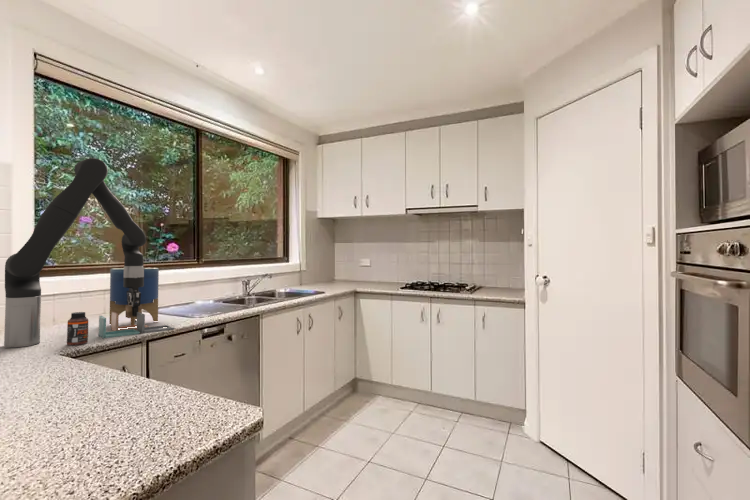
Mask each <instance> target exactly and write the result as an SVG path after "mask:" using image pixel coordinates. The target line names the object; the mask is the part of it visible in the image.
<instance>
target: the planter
mask: <svg viewBox="0 0 750 500" xmlns="http://www.w3.org/2000/svg"><path fill="white" fill-rule="evenodd" d="M143 268H144V286H143V287H139V288H138V289H139V291H140V293H141V301H140V305H142V311H143V310H144V311H146V312H147V313H149V314H150V316H151V318H152V322H153V321H158V322H159V283H160V282H159V279H160V278H159V276H160V275H159V274H160V273H159V271H160V270H159V269H160V268H158V267H143ZM109 271H110V273H109V274H110V276H109V279H110V280H109V281H110V282H109V324H111V318H112V312H113V311H114V312H116V313H118V314H119V316H120V315H121V314H122V313H123V312H124V313H125V312H126V305H128V304H127V291H129V288H125V287H123V280H124V267H123V268H122V267H121V268H119V267H117V268H110V270H109ZM135 303H137V302H135ZM135 319H137V317H135V318H130V325H136V324H135V322H136V321H135ZM109 324H108V325H109Z"/></svg>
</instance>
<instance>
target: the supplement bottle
mask: <svg viewBox="0 0 750 500" xmlns="http://www.w3.org/2000/svg"><path fill="white" fill-rule="evenodd" d="M70 315H71V317H70V318H69V319H68V320H67V327H66V331H67V333H66V344H67V345H68V346H79V345H86V344H87V343H88V341H89V318H87V317H86V312H84V311H79V312H76V311H75V312H71V314H70Z"/></svg>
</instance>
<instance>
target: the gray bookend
mask: <svg viewBox="0 0 750 500" xmlns="http://www.w3.org/2000/svg"><path fill="white" fill-rule="evenodd" d="M145 323H146V315H145V314H144V313H143V312H142V313H140V312H137V321H136V325H137V331H139V332H140V333H141V334H147V333H157V332H164V331H165V332H166V331H172V330H173V331H174V330H175V326H171V325H169V324H165V325H163V324H162V325H155V326H149V327H145V325H146V324H145ZM163 327H167V328H163ZM140 333H139V334H140Z"/></svg>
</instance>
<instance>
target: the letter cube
mask: <svg viewBox="0 0 750 500" xmlns="http://www.w3.org/2000/svg"><path fill="white" fill-rule="evenodd" d="M132 308H133V307H132V305H126V311H125V318H127V319H131V318H135V317H137V316H132ZM142 311H143V309H142V305H140V306H139V307H138V312H140V313H142V314H143V312H142Z"/></svg>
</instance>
